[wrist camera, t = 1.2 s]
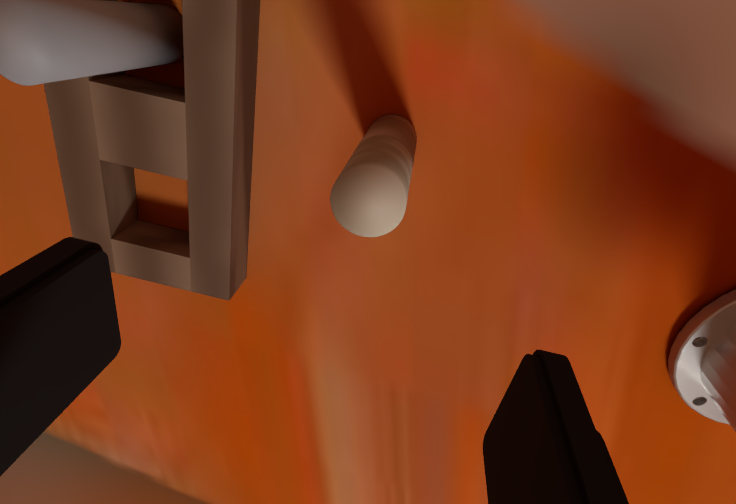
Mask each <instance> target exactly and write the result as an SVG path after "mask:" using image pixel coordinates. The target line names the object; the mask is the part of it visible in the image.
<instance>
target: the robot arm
mask: <svg viewBox="0 0 736 504" xmlns="http://www.w3.org/2000/svg"><path fill="white" fill-rule="evenodd" d="M120 346H121V338H120V331H119V325H118V318H117V311H116V305H115V298H114V291H113V285H112V278H111V272H110V265H109V258H108V255H107V254H106V252H103V249H102V247H101V246H100V245H99V244H97V243H95V242H91V241H86V240H82V239H78V238H74V237H68V238H65V239H63V240H61V241H60V242H58V243H56V244H54V245H53V246H51V247H49V248H47V249H46V250H44V251H42V252H41V253H39V254H37V255H35V256H34V257H32V258H30V259H28V260H27V261H25V262H23V263H21V264H20V265H18V266H16V267H15V268H13V269H11V270H9V271H8V272H6V273H4V274H2V275H1V276H0V476H1V475H2V474H3V473H4V472H5V471H6V470H7V469H8V468H9V467H10V466H11V465H12V464H13V463H14V462H15V461H16V459H17V458H18V457H19V456H20V455H21V454H22V453H23V452H24V451H25V450H26V449H27V448H28V447H29V446H30V445H31V444H32V443H33V442H34V441H35V440H36V439H37V438H38V437H39V436H40V435H41V434H42V433H43V432H44V431H45V429H46V428H47V427H48V426H49V425H50V424H51V423H52V422H53V421H54V420H55V419H56V418H57V417H58V416H59V415H60V414H61V413H62V412H63V411H64V410H65V409H66V408H67V407H68V406H69V405H70V404H71V403H72V402H73V401H74V399H75V398H76V397H77V396H78V395H79V394H80V393H81V392H82V391H83V390H84V389H85V388H86V387H87V386H88V385H89V384H90V383H91V382H92V381H93V380H94V379H95V378H96V377H97V376H98V375H99V374H100V373H101V372H102V371H103V369H104V368H105V367H106V366H107V365H108V364H109V363H110V362H111V361H112V360H113V359H114V358H115V357H116V356H117V354H118V352H119V350H120ZM668 371H669V375H670V378H671V381H672V384H673V386H674V387H675V389H676V390H677V392H678V393H679V395H680V397H681V398H682V399H683V400H684V402H685V403H686V404H687V405H688V406H689V407H690V408H692V409H693V410H695V411H696V412H698V413H699V414H701V415H703V416H705V417H707V418H710V419H712V420H715V421H717V422H721V423H725V424H729V425H731V426H732V428H733V429H734V430H735V432H736V289H735V290H733V291H731V292H729V293H727V294H725V295H723V296H721V297H719V298H718V299H716V300H715V301H713V302H712V303H710V304H708V305H707V306H705V307H704V308H703V309H702V310H700V311H699V312H698V313H697V314H696V315H695V316H694V317H692V318H691V319H690V320H689V321H688V322H687V324H686V325H685V326H684V327H683V329H682V330H681V331H680V332H679V333H678V335H677V337H676V339H675V341H674V343H673V345H672V347H671V350H670V355H669V359H668ZM483 456H484V466H485V475H486V485H487V495H488V504H629V503H628V500H627V498H626V495H625V493H624V490H623V488H622V485H621V483H620V480H619V477H618V475H617V472H616V470H615V467H614V465H613V462H612V460H611V457H610V455H609V452H608V450H607V447H606V445H605V442H604V440H603V438H602V436H601V434H600V433H599V432H598V431H597V430H596V429H595V427H594V424H593V421H592V419H591V416H590V414H589V411H588V408H587V406H586V403H585V401H584V398H583V395H582V393H581V390H580V388H579V385H578V382H577V380H576V377H575V375H574V372H573V369H572V367H571V364H570V362H569V360H568V358H567V357H566V356H564V355H560V354H556V353H551V352H547V351H543V350H536V351H535V352H534V353H533V355H530V354H526V355H525V356H524V358H523V359H522V361H521V363H520V365H519V367H518V369H517V371H516V373H515V375H514V377H513V379H512V381H511V383H510V385H509V387H508V389H507V391H506V393H505V395H504V397H503V399H502V401H501V403H500V405H499V407H498V409H497V411H496V413H495V415H494V417H493V419H492V421H491V423H490V425H489V427H488V429H487V431H486V433H485V436H484V441H483Z"/></svg>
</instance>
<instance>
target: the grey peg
mask: <svg viewBox="0 0 736 504" xmlns="http://www.w3.org/2000/svg"><path fill="white" fill-rule="evenodd" d="M183 58H184V48H183V18H182V17H181V16H180V14H179V13H178V12H177V11H175V10H174V9H173V8H171V7H169V6H166V5H163V4H150V3H133V2H117V1H101V0H0V74H1V75H3V76H4V77H5V78H7V79H9V80H11V81H13V82H15V83H18V84H21V85H37V84H43V83H49V82H56V81H62V80H68V79H75V78H81V77H87V76H94V75H100V74H106V73H113V72H119V71H125V70H132V69H138V68H144V67H151V66H157V65H163V64H170V63H176V62H179V61H181V60H182V59H183Z"/></svg>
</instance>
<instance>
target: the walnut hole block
mask: <svg viewBox="0 0 736 504" xmlns="http://www.w3.org/2000/svg"><path fill="white" fill-rule="evenodd" d="M101 1H117V0H101ZM259 13H260V0H182V15H183V48H184V80H185V88H180V87H176V86H171V85H167V84H163V83H158V82H154V81H150V80H145V79H141V78H136V77H132V76H128V75H124V71H119V72H113V73H106V74H100V75H94V76H87V77H81V78H75V79H68V80H62V81H56V82H49V83H44V88H45V93H46V98H47V104H48V109H49V114H50V119H51V125H52V130H53V135H54V140H55V146H56V151H57V156H58V161H59V167H60V172H61V177H62V182H63V188H64V193H65V198H66V203H67V209H68V214H69V219H70V224H71V230H72V235H73V237H74V238H78V239H82V240H86V241H91V242H95V243H97V244H99V245H100V246H101V247H102V249H103V252H106V254H107V255H108V258H109V265H110V272H114V273H118V274H122V275H127V276H131V277H135V278H139V279H143V280H147V281H151V282H155V283H159V284H163V285H167V286H171V287H176V288H180V289H184V290H188V291H192V292H196V293H200V294H204V295H208V296H212V297H216V298H221V299H225V300H230V299H231V297H232V296H233V295H234V293H235V292H236V291H237V289H238V288H239V287H240V285H241V284H242V283H243V281H244V280H245V279H246V273H247V253H248V233H249V213H250V193H251V173H252V153H253V133H254V113H255V93H256V73H257V53H258V33H259ZM133 168H137V169H142V170H146V171H150V172H154V173H158V174H163V175H167V176H171V177H175V178H180V179H184V180H188V210H189V232H186V231H181V230H177V229H173V228H169V227H165V226H161V225H156V224H152V223H148V222H144V221H140V220H138V210H137V199H136V189H135V179H134V169H133Z"/></svg>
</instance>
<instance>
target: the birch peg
mask: <svg viewBox="0 0 736 504" xmlns="http://www.w3.org/2000/svg"><path fill="white" fill-rule="evenodd" d="M416 143H417V136H416V132H415V129H414V127H413V126H412V124H411V123H410V122H409V121H408V120H407V119H406V118H404V117H402V116H400V115H395V114H388V115H384V116H381V117H379V118H378V119H376V120H375V121H374V122H373V123H372V125H371V126H370V128H369V129H368V131H367V132H366V134H365V135H364V137H363V139H362V140H361V142H360V143H359V145H358V147H357V148H356V150H355V151H354V153H353V155H352V156H351V158H350V159H349V161H348V162H347V164H346V166H345V167H344V169H343V170H342V172H341V174H340V175H339V177H338V178H337V180H336V182H335V183H334V185H333V188H332V191H331V197H330V202H331V208H332V211H333V214H334V216H335V218H336V219H337V221H338V222H339V223H340V224H341V225H342V226H343V227H344V228H345V229H347V230H348V231H350V232H351V233H354V234H356V235H359V236H364V237H377V236H381V235H384V234H387V233H389V232H390V231H392V230H393V229H394V228H396V227H397V226H398V224H399V223H400V222H401V220H402V218H403V216H404V213H405V209H406V204H407V197H408V191H409V185H410V179H411V173H412V167H413V161H414V155H415V149H416Z"/></svg>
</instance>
